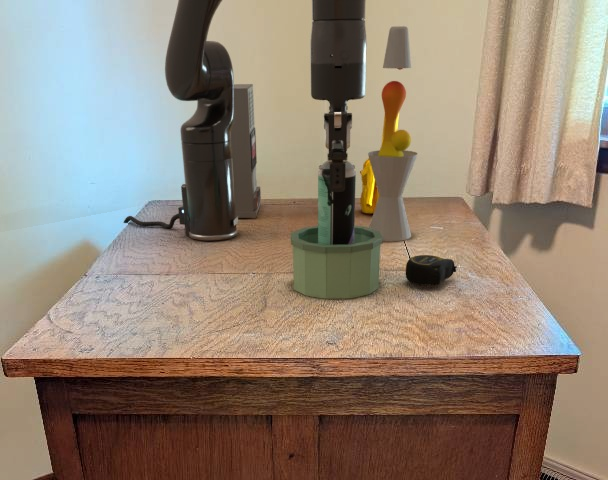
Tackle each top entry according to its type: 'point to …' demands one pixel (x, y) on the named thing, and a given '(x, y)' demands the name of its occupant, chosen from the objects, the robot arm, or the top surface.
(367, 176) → the figure statuette
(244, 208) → the tall labeled grey carton
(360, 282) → the hollow green tube
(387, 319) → the top surface
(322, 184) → the spray can
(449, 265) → the tape measure
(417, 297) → the top surface
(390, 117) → the lava lamp
